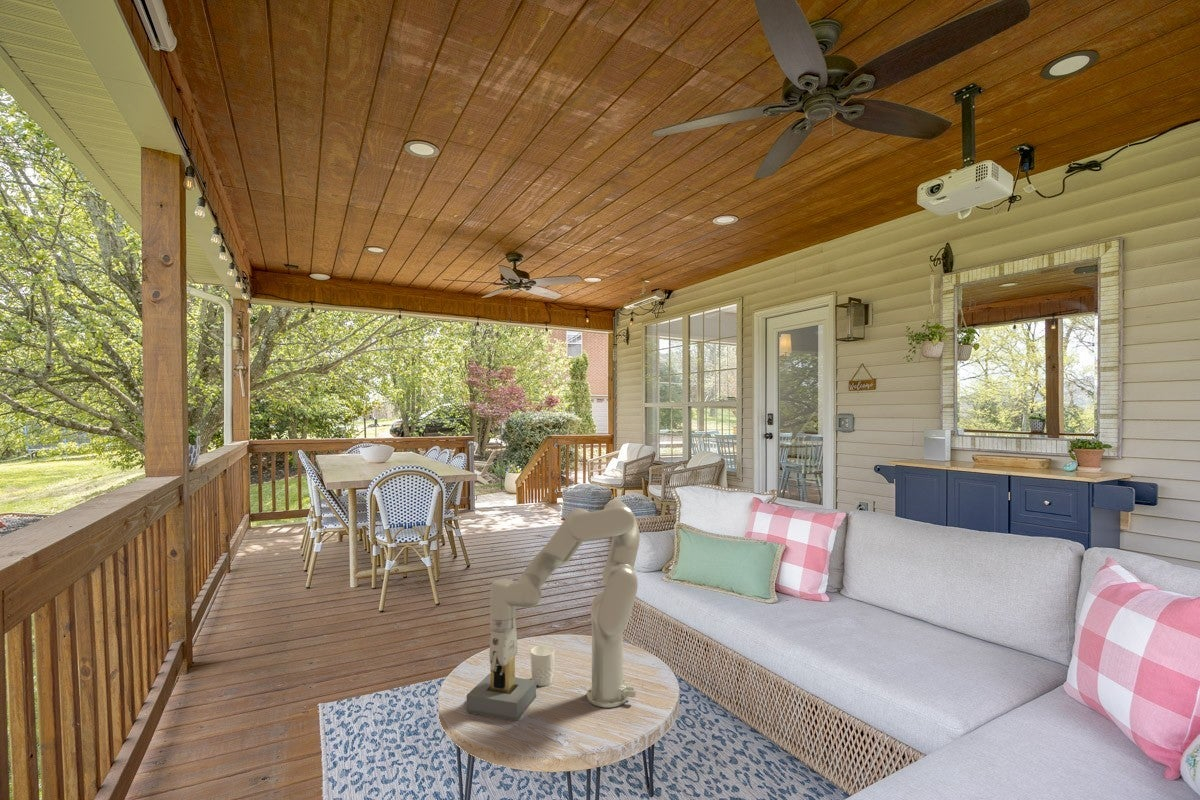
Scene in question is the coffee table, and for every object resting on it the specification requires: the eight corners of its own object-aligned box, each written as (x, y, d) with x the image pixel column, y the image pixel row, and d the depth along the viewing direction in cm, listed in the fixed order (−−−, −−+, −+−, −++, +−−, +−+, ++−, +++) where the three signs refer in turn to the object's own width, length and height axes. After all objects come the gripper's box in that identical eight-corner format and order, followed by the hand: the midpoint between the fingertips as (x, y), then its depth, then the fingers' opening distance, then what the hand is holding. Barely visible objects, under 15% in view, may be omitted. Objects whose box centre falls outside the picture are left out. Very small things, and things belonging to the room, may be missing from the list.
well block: (536, 697, 169) (536, 680, 169) (516, 721, 156) (516, 703, 156) (489, 689, 174) (489, 673, 174) (466, 712, 160) (466, 694, 160)
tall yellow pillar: (514, 696, 166) (514, 655, 166) (508, 702, 162) (508, 661, 162) (496, 693, 168) (496, 653, 168) (490, 699, 164) (490, 658, 164)
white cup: (527, 678, 181) (527, 647, 182) (550, 674, 185) (550, 643, 185) (534, 689, 174) (534, 657, 175) (557, 684, 177) (558, 653, 178)
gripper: (501, 634, 157) (501, 699, 156) (526, 614, 173) (525, 673, 172) (478, 631, 159) (477, 695, 158) (504, 611, 175) (503, 670, 174)
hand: (502, 683), depth 165 cm, fingers closed on tall yellow pillar, 3 cm apart
